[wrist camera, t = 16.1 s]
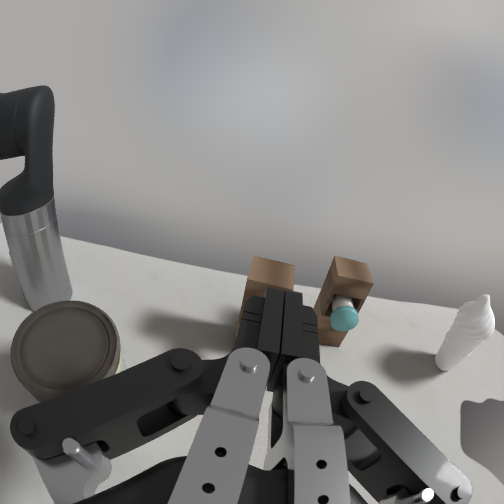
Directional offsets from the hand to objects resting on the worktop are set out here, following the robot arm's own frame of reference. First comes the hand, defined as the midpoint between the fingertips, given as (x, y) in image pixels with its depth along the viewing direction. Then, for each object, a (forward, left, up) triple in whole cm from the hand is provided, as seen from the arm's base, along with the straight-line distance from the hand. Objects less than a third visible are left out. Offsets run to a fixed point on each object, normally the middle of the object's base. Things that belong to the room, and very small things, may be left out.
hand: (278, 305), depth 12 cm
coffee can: (-15, -1, -24) cm, 28 cm away
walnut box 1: (0, +18, -23) cm, 29 cm away
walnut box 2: (+11, +23, -23) cm, 35 cm away
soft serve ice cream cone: (+36, +19, -24) cm, 47 cm away
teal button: (+11, +21, -17) cm, 30 cm away
